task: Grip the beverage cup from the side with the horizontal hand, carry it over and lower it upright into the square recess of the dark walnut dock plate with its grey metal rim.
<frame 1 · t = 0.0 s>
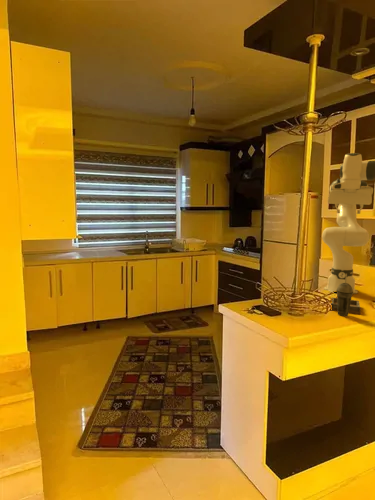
hand: (348, 213, 179), 48 cm above the countertop, tool pointing down, fingers open, 8 cm apart
dock plate: (344, 308, 179), on the countertop
beverage cup: (342, 315, 169), on the countertop
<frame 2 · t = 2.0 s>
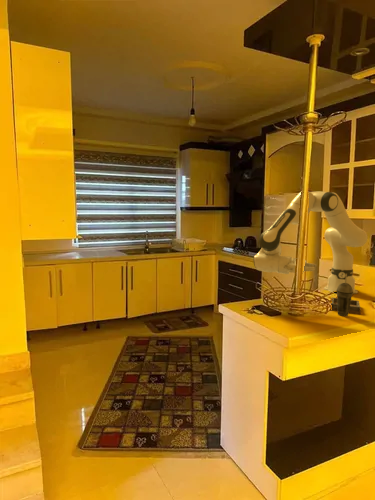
hand: (315, 267, 171), 22 cm above the countertop, tool horizontal, fingers open, 8 cm apart
nothing on the countertop moved.
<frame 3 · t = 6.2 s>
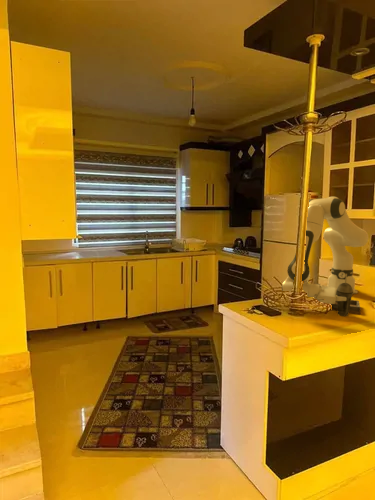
hand: (346, 296, 167), 9 cm above the countertop, tool horizontal, fingers closed on beverage cup, 7 cm apart
beverage cup: (342, 315, 169), on the countertop, touching gripper
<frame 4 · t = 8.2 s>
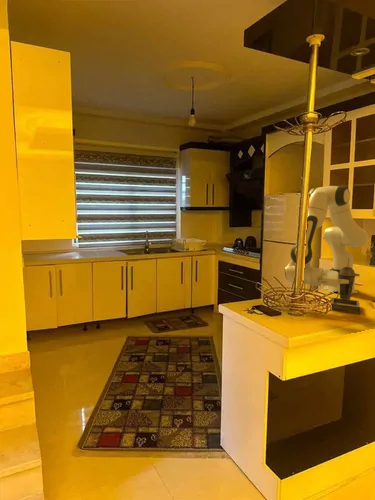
hand: (348, 279, 170), 16 cm above the countertop, tool horizontal, fingers closed on beverage cup, 7 cm apart
beverage cup: (345, 298, 171), point 7 cm above the countertop, touching gripper
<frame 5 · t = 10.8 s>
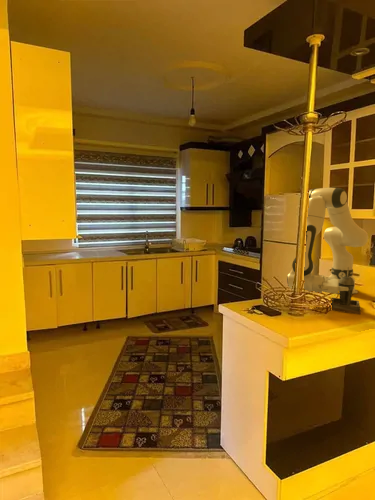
hand: (348, 287, 178), 11 cm above the countertop, tool horizontal, fingers closed on beverage cup, 7 cm apart
beverage cup: (344, 306, 179), point 1 cm above the countertop, touching dock plate, gripper
when the fingers open (11 cm above the countertop, at t = 12.4 s): beverage cup stays where it is, resting on dock plate.
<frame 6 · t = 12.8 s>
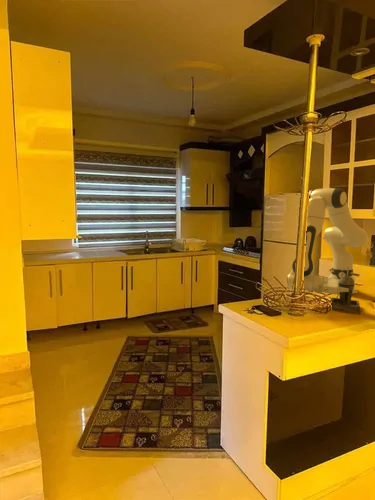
hand: (348, 287, 178), 11 cm above the countertop, tool horizontal, fingers open, 8 cm apart
beverage cup: (344, 306, 179), point 1 cm above the countertop, touching dock plate
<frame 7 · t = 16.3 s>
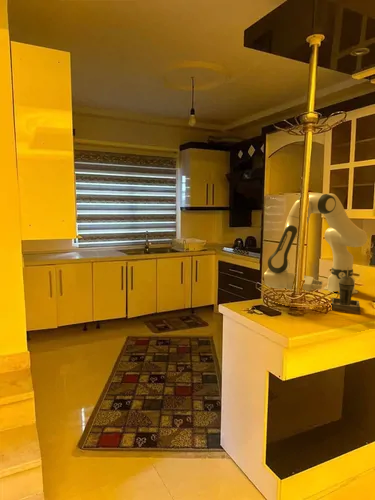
hand: (322, 285, 182), 11 cm above the countertop, tool horizontal, fingers open, 8 cm apart
nothing on the countertop moved.
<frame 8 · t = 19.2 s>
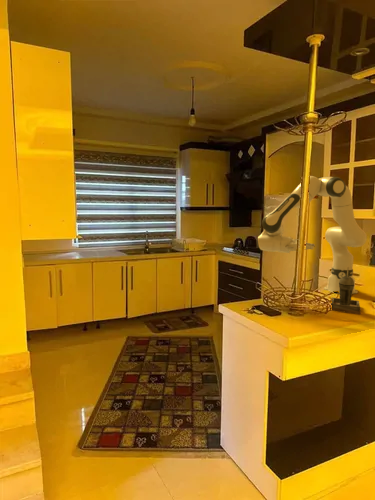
hand: (314, 246, 186), 30 cm above the countertop, tool horizontal, fingers open, 8 cm apart
nothing on the countertop moved.
at the end: beverage cup 0.2 cm off-centre on the dock plate, point 1.0 cm above the dock plate's base; beverage cup tilted 0°; the gripper is holding nothing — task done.
